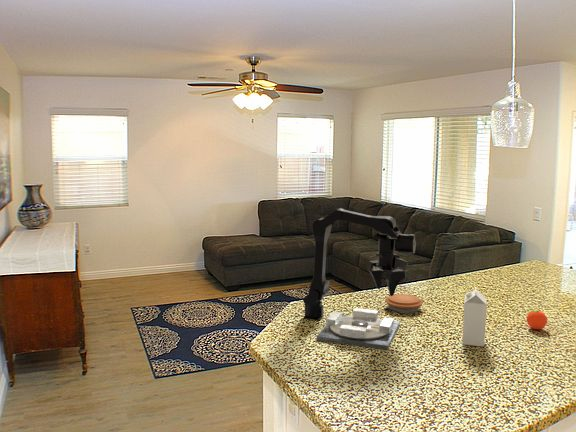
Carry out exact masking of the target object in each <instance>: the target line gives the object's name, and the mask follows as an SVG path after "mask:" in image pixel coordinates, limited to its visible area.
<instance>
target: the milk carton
mask: <svg viewBox="0 0 576 432" xmlns="http://www.w3.org/2000/svg"><path fill="white" fill-rule="evenodd" d="M463 302H464V303H463V304H464V305H463V319H462V320H463V323H462V325H463V326H462V341H461V343H462V345H467V346H476V347H484V348H485V342H486V341H485V340H486V325H487V323H486V322H487V305H488V304H487V297H485V296H484V295H483V294H482V293H481V292H479V290H477V288H475V289H474V290H472V291H468V292H467V293H465V296H464V300H463Z"/></svg>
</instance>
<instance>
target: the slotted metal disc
mask: <svg viewBox="0 0 576 432" xmlns="http://www.w3.org/2000/svg"><path fill="white" fill-rule="evenodd" d="M342 315H343V313H342V312H340V311H332V312H331V313H330V314H329V315H328V316H327V317H326V319H325V326H330V330H331V331H332V332H333V333H335V334H337V335H339V336H342V337H345V338H351V339H360V340H367V339H377V338H381V337H384V336H386V335H388V334H389V333H390V331H391V330H392V328H393V326H394V321H395V318H392V317H383V319H382V320H381V318H379V310H377V309H376V310H375V309H367V308H359V307H354V309H353V311H352V315H349V316H343V317H342Z"/></svg>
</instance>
